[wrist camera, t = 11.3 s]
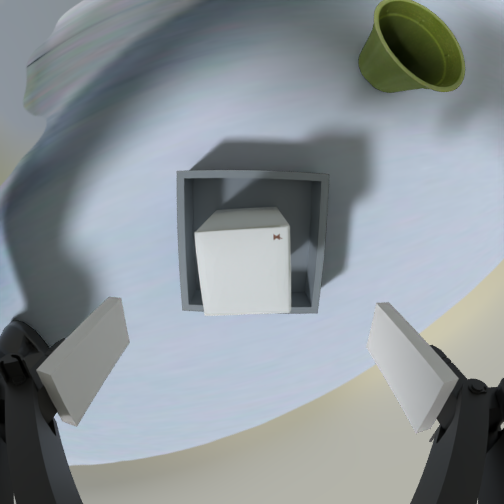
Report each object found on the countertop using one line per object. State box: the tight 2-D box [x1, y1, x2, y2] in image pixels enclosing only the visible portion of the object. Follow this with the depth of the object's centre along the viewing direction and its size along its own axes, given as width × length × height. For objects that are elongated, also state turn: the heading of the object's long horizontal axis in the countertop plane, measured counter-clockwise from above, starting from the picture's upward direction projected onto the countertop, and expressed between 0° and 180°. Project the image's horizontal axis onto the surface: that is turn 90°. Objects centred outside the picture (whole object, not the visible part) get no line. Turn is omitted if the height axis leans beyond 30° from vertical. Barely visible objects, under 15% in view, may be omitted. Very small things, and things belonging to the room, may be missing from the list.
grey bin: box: [177, 170, 329, 314], centre depth 31 cm, size 16×16×5 cm
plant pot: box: [359, 0, 465, 93], centre depth 22 cm, size 12×12×11 cm
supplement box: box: [195, 207, 291, 316], centre depth 27 cm, size 7×7×13 cm
